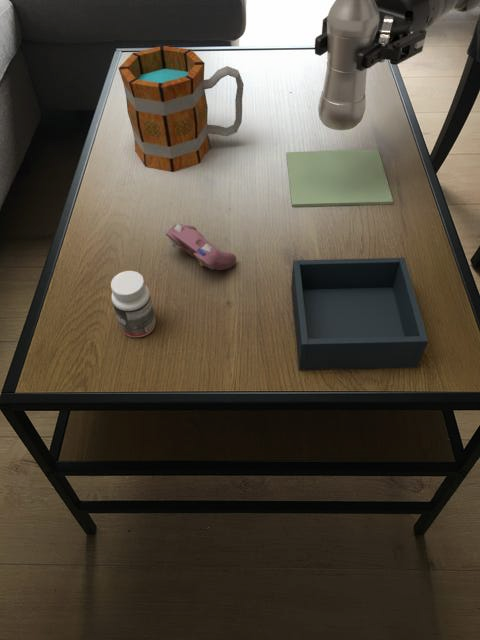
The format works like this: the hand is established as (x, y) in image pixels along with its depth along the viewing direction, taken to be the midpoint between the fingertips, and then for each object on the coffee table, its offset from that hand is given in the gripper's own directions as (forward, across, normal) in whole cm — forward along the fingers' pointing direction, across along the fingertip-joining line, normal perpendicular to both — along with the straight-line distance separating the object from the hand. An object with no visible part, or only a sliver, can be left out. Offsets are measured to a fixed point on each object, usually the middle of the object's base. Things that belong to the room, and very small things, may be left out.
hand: (338, 55), depth 70 cm
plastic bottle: (-2, 0, +11) cm, 11 cm away
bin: (+19, +19, +22) cm, 35 cm away
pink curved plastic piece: (+23, -5, +22) cm, 33 cm away
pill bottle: (+38, -2, +22) cm, 44 cm away
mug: (+5, -26, +22) cm, 35 cm away
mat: (-5, -1, +22) cm, 23 cm away
